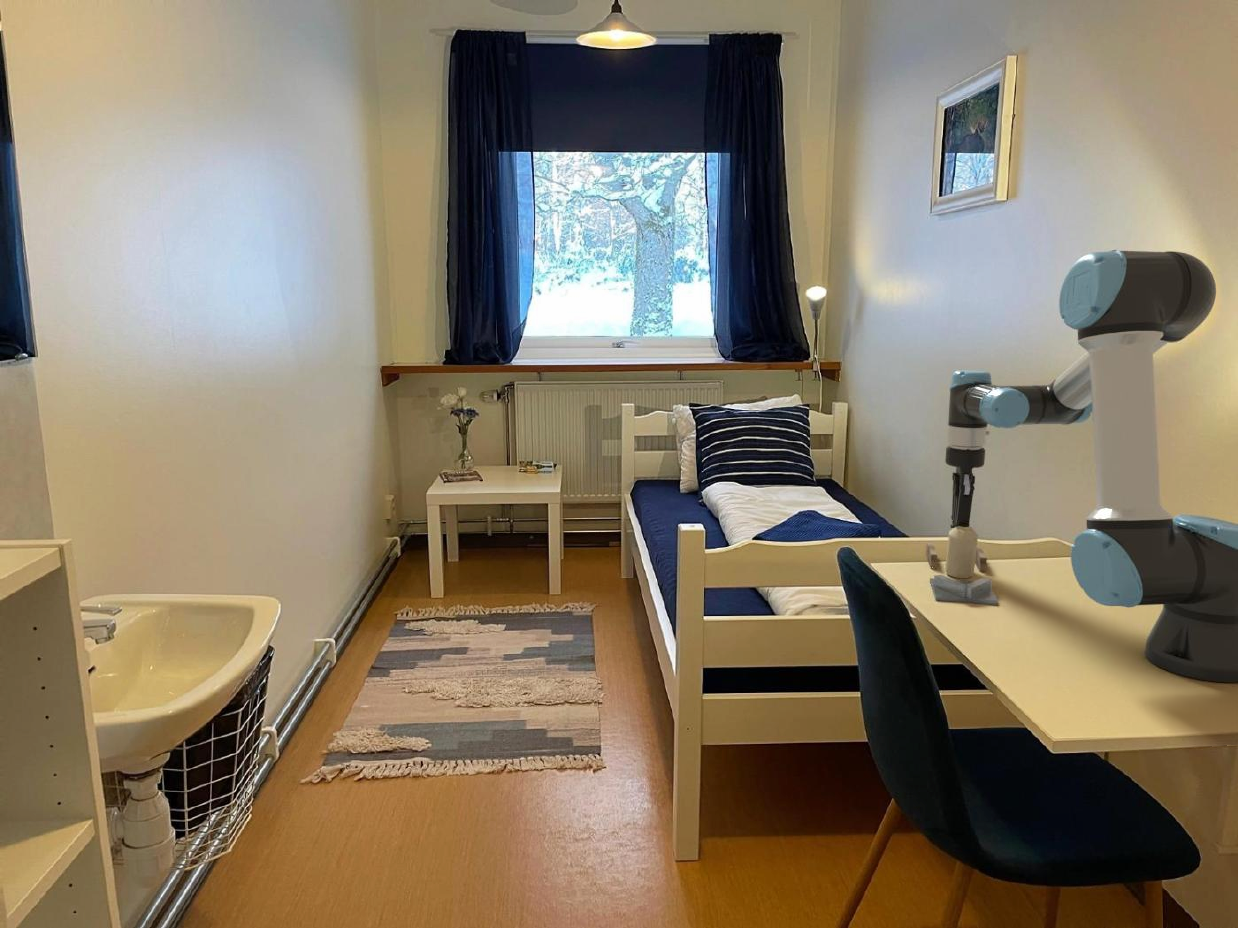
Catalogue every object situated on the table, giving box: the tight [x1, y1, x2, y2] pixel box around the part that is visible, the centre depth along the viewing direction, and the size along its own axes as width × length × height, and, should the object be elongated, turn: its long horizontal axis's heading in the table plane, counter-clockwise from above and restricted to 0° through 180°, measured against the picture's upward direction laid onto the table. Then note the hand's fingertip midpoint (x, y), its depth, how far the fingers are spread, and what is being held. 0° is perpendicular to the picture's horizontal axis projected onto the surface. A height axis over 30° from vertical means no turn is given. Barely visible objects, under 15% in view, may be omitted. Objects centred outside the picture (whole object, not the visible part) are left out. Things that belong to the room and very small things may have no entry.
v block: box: [929, 574, 999, 606], centre depth 181 cm, size 11×11×3 cm
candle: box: [945, 526, 979, 579], centre depth 190 cm, size 6×6×10 cm
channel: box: [925, 541, 988, 573], centre depth 200 cm, size 10×11×3 cm
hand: (957, 557), depth 196 cm, fingers closed
